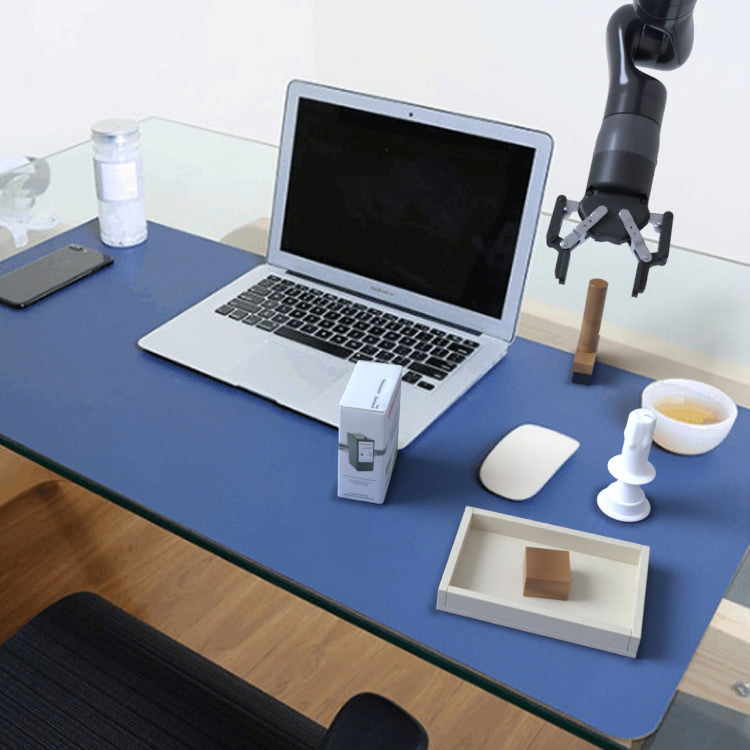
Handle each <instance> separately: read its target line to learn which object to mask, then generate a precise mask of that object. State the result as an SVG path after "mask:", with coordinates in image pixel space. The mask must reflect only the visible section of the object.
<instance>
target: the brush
mask: <svg viewBox="0 0 750 750" xmlns="http://www.w3.org/2000/svg"><path fill="white" fill-rule="evenodd" d="M608 288H609V282H608V281H607V280H605V279H603V278H591V279H590V280H589V281H588V287H587V292H586V297H585V304H584V308H583V309H584V310H583V315H582V321H581V325H580V326H581V327H580V331H579V332H580V333H579V338H578V341H577V345H576V348H575V353H574V356H573V361H572V367H571V372H572V377H571V383H574V384H580V385H583V386H589V384H590V379H591V376H592V375H593V373H594V367H595V361H596V359H597V358H596V357H597V353H598V348H599V343H600V339H601V334H600V331H601V325H602V322H603V316H604V310H605V305H606V299H607V294H608Z"/></svg>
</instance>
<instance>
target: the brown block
mask: <svg viewBox="0 0 750 750" xmlns="http://www.w3.org/2000/svg"><path fill="white" fill-rule="evenodd" d="M570 585H571V573H570V556H569V551H563V550H554V549H545V548H535V547H526V548H525V554H524V560H523V596H528V597H537V598H546V599H555V600H564V601H567V600H568V595H569V590H570Z"/></svg>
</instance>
